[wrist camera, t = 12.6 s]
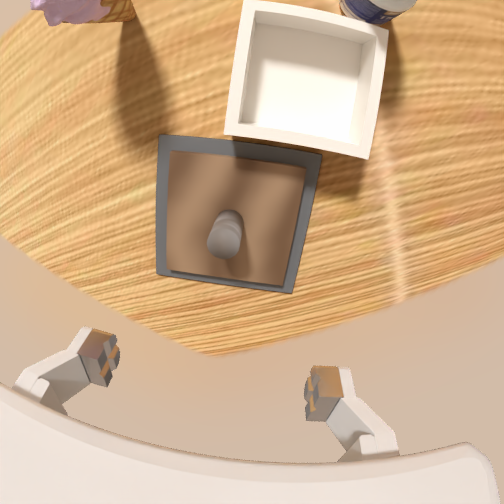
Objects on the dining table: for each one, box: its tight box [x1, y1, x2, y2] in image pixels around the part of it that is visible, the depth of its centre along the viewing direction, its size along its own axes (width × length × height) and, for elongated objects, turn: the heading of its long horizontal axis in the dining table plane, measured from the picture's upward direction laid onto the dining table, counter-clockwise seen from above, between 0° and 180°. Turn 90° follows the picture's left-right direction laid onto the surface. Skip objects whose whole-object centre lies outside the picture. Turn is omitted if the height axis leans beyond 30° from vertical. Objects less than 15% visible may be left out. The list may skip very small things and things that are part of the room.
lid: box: [166, 150, 306, 286], centre depth 28 cm, size 13×13×6 cm
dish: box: [224, 0, 389, 160], centre depth 22 cm, size 12×12×5 cm
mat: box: [156, 135, 322, 293], centre depth 31 cm, size 16×16×1 cm
